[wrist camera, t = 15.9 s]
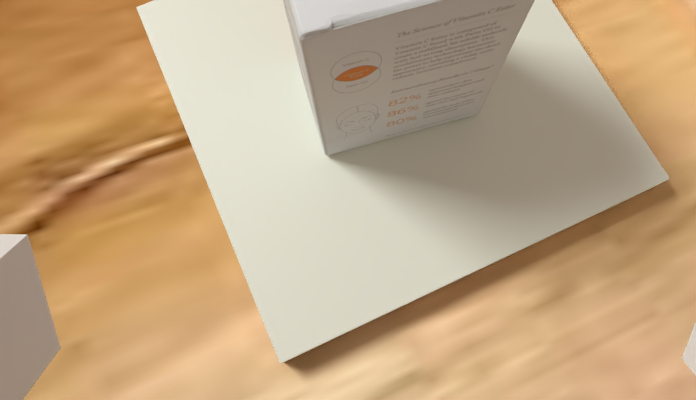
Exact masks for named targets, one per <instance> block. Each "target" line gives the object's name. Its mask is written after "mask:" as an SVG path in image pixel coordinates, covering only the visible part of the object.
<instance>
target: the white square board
mask: <svg viewBox="0 0 696 400" xmlns="http://www.w3.org/2000/svg"><path fill="white" fill-rule="evenodd" d="M136 8H137V10H138V13H139V15H140V18H141V20H142V23H143V25H144V28H145V30H146V32H147V35H148V37H149V40H150V42H151V45H152V47H153V50H154V52H155V55H156V57H157V60H158V62H159V65H160V67H161V70H162V72H163V75H164V77H165V80H166V82H167V85H168V87H169V89H170V92H171V94H172V97H173V99H174V102H175V104H176V107H177V109H178V112H179V114H180V117H181V119H182V122H183V124H184V127H185V129H186V132H187V134H188V137H189V139H190V142H191V144H192V147H193V149H194V151H195V154H196V156H197V159H198V161H199V164H200V166H201V169H202V171H203V174H204V176H205V179H206V181H207V184H208V186H209V189H210V191H211V194H212V196H213V199H214V201H215V204H216V206H217V208H218V211H219V213H220V216H221V218H222V221H223V223H224V226H225V228H226V231H227V233H228V236H229V238H230V241H231V243H232V246H233V248H234V251H235V253H236V256H237V258H238V261H239V263H240V265H241V268H242V270H243V273H244V275H245V278H246V280H247V283H248V285H249V288H250V290H251V293H252V295H253V298H254V300H255V303H256V305H257V308H258V310H259V313H260V315H261V318H262V320H263V322H264V325H265V327H266V330H267V332H268V335H269V337H270V340H271V342H272V345H273V347H274V350H275V352H276V355H277V357H278V360H279V362H280V363H284V362H286V361H289V360H291V359H293V358H295V357H297V356H299V355H301V354H303V353H305V352H308V351H310V350H312V349H314V348H316V347H318V346H320V345H322V344H324V343H326V342H329V341H331V340H333V339H335V338H337V337H339V336H341V335H343V334H345V333H348V332H350V331H352V330H354V329H356V328H358V327H360V326H362V325H364V324H367V323H369V322H371V321H373V320H375V319H377V318H379V317H381V316H383V315H386V314H388V313H390V312H392V311H394V310H396V309H398V308H400V307H402V306H405V305H407V304H409V303H411V302H413V301H415V300H417V299H419V298H421V297H423V296H426V295H428V294H430V293H432V292H434V291H436V290H438V289H440V288H442V287H445V286H447V285H449V284H451V283H453V282H455V281H457V280H459V279H461V278H464V277H466V276H468V275H470V274H472V273H474V272H476V271H478V270H480V269H483V268H485V267H487V266H489V265H491V264H493V263H495V262H497V261H499V260H502V259H504V258H506V257H508V256H510V255H512V254H514V253H516V252H518V251H520V250H523V249H525V248H527V247H529V246H531V245H533V244H535V243H537V242H539V241H542V240H544V239H546V238H548V237H550V236H552V235H554V234H556V233H558V232H561V231H563V230H565V229H567V228H569V227H571V226H573V225H575V224H577V223H580V222H582V221H584V220H586V219H588V218H590V217H592V216H594V215H596V214H599V213H601V212H603V211H605V210H607V209H609V208H611V207H613V206H615V205H618V204H620V203H622V202H624V201H626V200H628V199H630V198H632V197H634V196H636V195H639V194H641V193H643V192H645V191H647V190H649V189H651V188H653V187H655V186H657V185H659V184H661V183H663V182H665V181H667V180H668V179H670V178H669V176H668V175H667V173H666V172H665V170H664V169H663V167H662V166H661V164H660V163H659V161H658V160H657V158H656V157H655V155H654V154H653V152H652V151H651V149H650V147H649V146H648V144H647V143H646V141H645V140H644V138H643V137H642V135H641V134H640V132H639V131H638V129H637V128H636V126H635V125H634V123H633V122H632V120H631V119H630V117H629V116H628V114H627V113H626V111H625V110H624V108H623V107H622V105H621V104H620V102H619V101H618V99H617V98H616V96H615V95H614V93H613V92H612V90H611V89H610V87H609V86H608V84H607V83H606V81H605V80H604V78H603V77H602V75H601V74H600V72H599V71H598V69H597V68H596V66H595V65H594V63H593V62H592V60H591V59H590V57H589V56H588V54H587V53H586V51H585V50H584V48H583V47H582V45H581V44H580V42H579V41H578V39H577V38H576V36H575V35H574V33H573V32H572V30H571V29H570V27H569V26H568V24H567V23H566V21H565V20H564V18H563V17H562V15H561V14H560V12H559V11H558V9H557V8H556V6H555V5H554V3H553V2H552V0H535V1H534V3H533V5H532V7H531V9H530V11H529V13H528V15H527V17H526V19H525V21H524V23H523V25H522V27H521V29H520V31H519V33H518V35H517V37H516V39H515V41H514V43H513V45H512V47H511V49H510V52H509V54H508V56H507V58H506V60H505V62H504V64H503V66H502V68H501V70H500V72H499V74H498V76H497V78H496V80H495V82H494V84H493V86H492V88H491V90H490V92H489V94H488V96H487V98H486V100H485V102H484V104H483V106H482V108H481V110H480V112H479V113H478V114H477V115H474V116H470V117H466V118H462V119H458V120H455V121H451V122H447V123H444V124H440V125H437V126H433V127H430V128H426V129H422V130H419V131H415V132H411V133H408V134H404V135H401V136H397V137H393V138H390V139H386V140H382V141H379V142H375V143H372V144H368V145H364V146H360V147H357V148H353V149H350V150H346V151H343V152H339V153H336V154H332V155H329V156H327V155H325V153H324V150H323V147H322V144H321V140H320V137H319V134H318V130H317V127H316V124H315V120H314V117H313V114H312V110H311V107H310V103H309V100H308V96H307V93H306V89H305V86H304V82H303V78H302V75H301V71H300V67H299V63H298V59H297V55H296V51H295V47H294V43H293V39H292V35H291V31H290V27H289V23H288V19H287V15H286V11H285V7H284V2H283V0H154V1H151V2H149V3H146V4H144V5H141V6H138V7H136Z"/></svg>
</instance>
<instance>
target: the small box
mask: <svg viewBox="0 0 696 400" xmlns="http://www.w3.org/2000/svg"><path fill="white" fill-rule="evenodd" d="M534 1H535V0H283V2H284V7H285V11H286V15H287V19H288V23H289V27H290V31H291V35H292V39H293V43H294V47H295V51H296V55H297V59H298V63H299V67H300V71H301V75H302V78H303V82H304V86H305V89H306V93H307V96H308V100H309V103H310V107H311V110H312V114H313V117H314V120H315V124H316V127H317V130H318V134H319V137H320V140H321V144H322V147H323V150H324V153H325V155H327V156H329V155H332V154H336V153H339V152H343V151H346V150H350V149H353V148H357V147H360V146H364V145H368V144H372V143H375V142H379V141H382V140H386V139H390V138H393V137H397V136H401V135H404V134H408V133H411V132H415V131H419V130H422V129H426V128H430V127H433V126H437V125H440V124H444V123H447V122H451V121H455V120H458V119H462V118H466V117H470V116H474V115H477V114H478V113H479V112H480V110H481V108H482V106H483V104H484V102H485V100H486V98H487V96H488V94H489V92H490V90H491V88H492V86H493V84H494V82H495V80H496V78H497V76H498V74H499V72H500V70H501V68H502V66H503V64H504V62H505V60H506V58H507V56H508V54H509V52H510V49H511V47H512V45H513V43H514V41H515V39H516V37H517V35H518V33H519V31H520V29H521V27H522V25H523V23H524V21H525V19H526V17H527V15H528V13H529V11H530V9H531V7H532V5H533V3H534Z"/></svg>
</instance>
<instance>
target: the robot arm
mask: <svg viewBox="0 0 696 400" xmlns="http://www.w3.org/2000/svg"><path fill="white" fill-rule="evenodd" d="M60 348H61V347H60V344H59V340H58V337H57V334H56V330H55V327H54V323H53V320H52V317H51V313H50V310H49V306H48V303H47V299H46V296H45V293H44V289H43V286H42V282H41V279H40V276H39V272H38V269H37V265H36V262H35V258H34V255H33V252H32V248H31V245H30V241H29V238H28V235H22V234H0V400H23V399H24V397H25V396H26V395H27V393H28V392H29V391H30V389H31V388H32V387H33V385H34V384H35V382H36V381H37V380H38V378H39V377H40V376H41V374H42V373H43V371H44V370H45V369H46V367H47V366H48V365H49V363H50V362H51V361H52V359H53V358H54V356H55V355H56V354H57V352H58V351H59V350H60ZM682 359H683V360H684V362H685V363H686V364H687V365H688V367H689V368H690V369H691V371H692V372H693V373H694V374H695V376H696V323H695V325H694V328H693V330H692V333H691V336H690V338H689V341H688V344H687V346H686V349H685V352H684V354H683V357H682Z"/></svg>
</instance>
